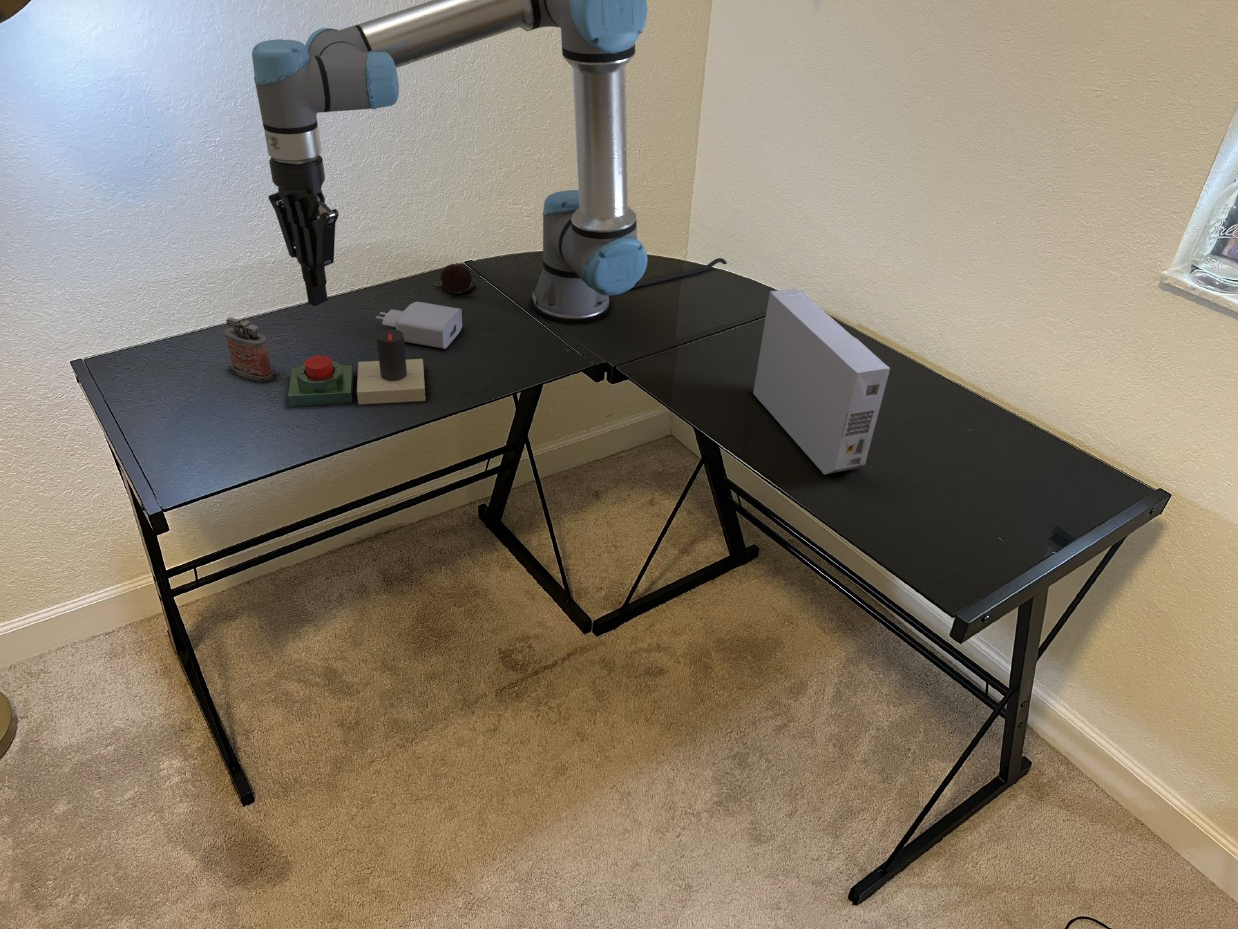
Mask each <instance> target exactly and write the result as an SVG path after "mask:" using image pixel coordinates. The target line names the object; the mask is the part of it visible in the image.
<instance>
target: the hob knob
mask: <svg viewBox="0 0 1238 929" xmlns="http://www.w3.org/2000/svg"><path fill="white" fill-rule="evenodd" d="M375 336H376V346H377V353H378V356H377V357H378V361H379V365H380V375H381V377H382V378H383V379H385V380H388V381H397V380H401V379H403V378H405V377H406V375H407V368H406V360H407V359H406V348H405V347H406V346H405V345H406V344H405V342H404V335H403V333H402V332H401V331H399V330H396V329H395V328H394V329H393V328H390V329H388V328H387V329H384V330H381V331H379V332H378V333H377V334H376V335H375Z"/></svg>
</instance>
